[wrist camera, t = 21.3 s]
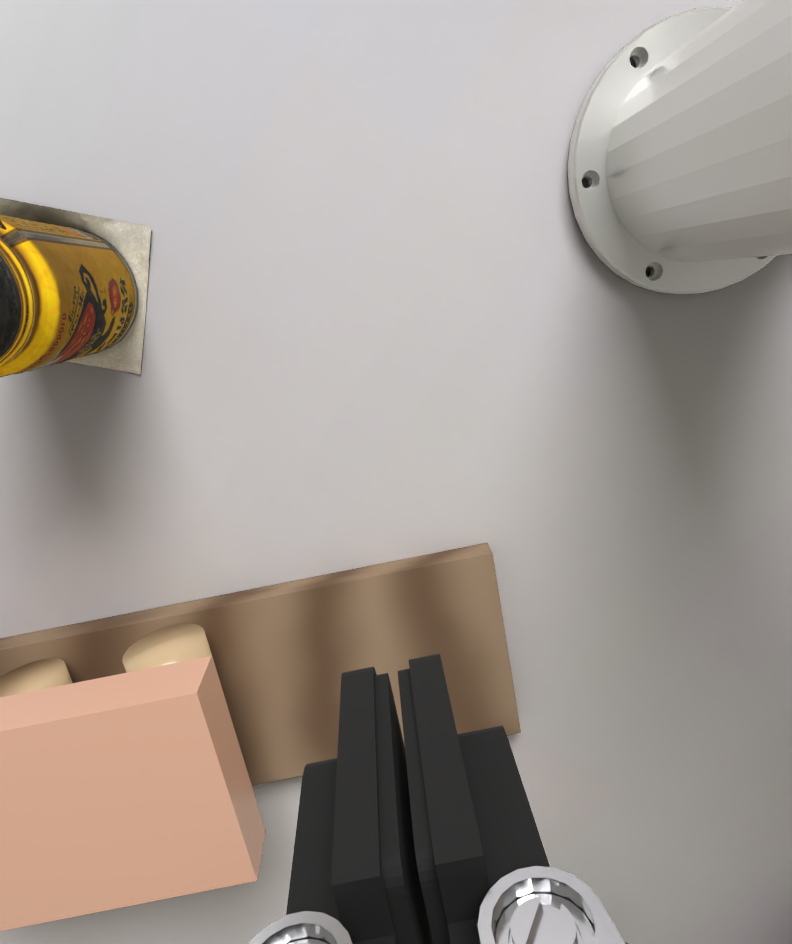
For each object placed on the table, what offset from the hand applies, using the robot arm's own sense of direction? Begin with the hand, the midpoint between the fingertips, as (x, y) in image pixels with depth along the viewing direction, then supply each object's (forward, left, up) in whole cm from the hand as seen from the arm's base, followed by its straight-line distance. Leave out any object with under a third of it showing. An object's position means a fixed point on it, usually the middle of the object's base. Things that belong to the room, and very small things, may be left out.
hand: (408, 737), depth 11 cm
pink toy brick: (+18, +14, -24) cm, 33 cm away
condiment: (+14, -10, -25) cm, 31 cm away
